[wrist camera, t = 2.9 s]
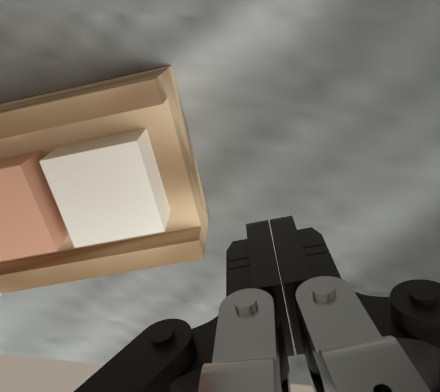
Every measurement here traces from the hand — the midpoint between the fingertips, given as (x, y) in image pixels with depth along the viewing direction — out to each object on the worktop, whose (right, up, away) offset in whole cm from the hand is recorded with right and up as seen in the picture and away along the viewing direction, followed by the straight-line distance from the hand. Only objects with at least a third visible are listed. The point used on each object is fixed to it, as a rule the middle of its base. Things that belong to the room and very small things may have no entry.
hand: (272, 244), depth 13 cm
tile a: (-8, +3, +10) cm, 12 cm away
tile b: (-13, +1, +10) cm, 17 cm away
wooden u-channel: (-11, +3, +14) cm, 18 cm away
